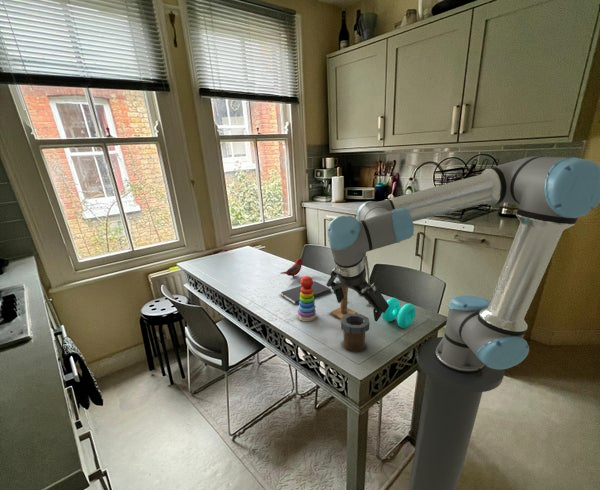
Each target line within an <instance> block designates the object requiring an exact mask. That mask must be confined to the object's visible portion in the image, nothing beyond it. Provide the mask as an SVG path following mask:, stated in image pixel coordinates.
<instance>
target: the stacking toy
mask: <svg viewBox="0 0 600 490" xmlns="http://www.w3.org/2000/svg"><path fill="white" fill-rule="evenodd" d="M313 282H314V280H313V278H312V277H311V276H308V275H305V276H302V277H301V279H300V286H302V288H301V293H300V301H299V303H298V309H297V319H299V320H300V321H303V322H311V321H314V320H315V319H316V318H317V311H316V304H315V303H316V301H315V298H314V296H313V292H312V291H313V288H312V287H311V286H312V285H313Z"/></svg>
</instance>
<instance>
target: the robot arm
mask: <svg viewBox="0 0 600 490" xmlns="http://www.w3.org/2000/svg"><path fill="white" fill-rule="evenodd" d="M483 204H485V205H488V206H495V205H498V204H518V208H517V211H516V213H515V216H516V217H517V219H518V220H519V226H518V228H517V231H516V233H515V236H514V239H513V241H512V244H511V246H510V249H509V252H508V254H507V257H506V259H505V262H504V265H503V267H502V269H501V271H500V274H499V278H498V280H497V282H496V286H495V288H494V291H493V293H492V296H491V298H490V300H489V299H487V298H485V297H482V296H478V295H470V294H469V295H466V294H465V295H464V294H463V295H457V296H454V297H453V298H451V300H450V302H449V306H448V312H447V318H446V323H445V329H444V333H443V334H444V335H443V336H442V337H443V338H442V340H441V341H440V343H439V344H438V346H437V348H436V352H435V357H436V359H437V360H438V362H439V363H440V364H442V365H443V366H444V367H446V368H448V369H450V370H453V371H456V372H460V373H477V372H480V374H483V373H482V371H481V370H482V369H483V368H484V365H486V366H487V367H489V368H492V369H498V370H501V369H505V370H507V369H510V368H513V367H515V366H518V365H519V364H520V363H522V362H523V361H524V360H525V359H526V358H527V356H528V355H529V352H530V345H529V344H528V342H527V340H526V339H525V338H524V336H525V334H526V333H527V330H528V328H529V327H528V323H527V322H526V320H525V317H526V315H527V313H528V310H529V309H530V306H531V304H532V301H533V300H534V297H535V294H536V293H537V291H538V288H539V286H540V285H541V281H542V279H543V277H544V274H545V273H546V271H547V268H548V266H549V264H550V261H551V259H552V257H553V255H554V252H555V250H556V247H557V245H558V243H559V242H560V239H561V237H562V234H563V232H564V231H565V230H566V229H569V228H571V227H573V226H575V225H576V223H577V221H578V218H581V217H583V216H586V215H587V214H590V213H591V210H594V209H595V208H597V206H598V205H599V204H600V165H599V164H598V163H597V162H595V161H593V160H591V159H590V160H589V159H585V158H578V157H576V156H573V157H567V156H566V157H563V156H543V155H540V156H539V155H535V156H527V157H524V158H519V159H516V160H513V161H509V162H505V163H502V164H499V165H496V166H492V167H488V168H485V169H484V170H482V172H481V174H477V175H473V176H470V177H466V178H462V179H459V180H455V181H452V182H448V183H444V184H441V185H437V186H433V187H429V188H425V189H421V190H418V191H414V192H410V193H407V194H403V195H400V196H395V197H392V198H388V199H384V200H380V201H376V200H375V201H373V200H369V201H364V203H361V204H360V206H359V207H358V209H357V212H356V217H355V216H352V215H339V216H337V217H335V218H334V219H332V220H331V221H330V222H329V224H328V226H327V229H326V230H327V237H328V244H329V247H330V252H331V254H332V258H333V262H334V268H332V270H331V271H330V277H329V279H328V281H327V282H326V284H325V286H326V287H328V288H331V290H332V291H333V293H334V295H335V297H336V302H337V303H339V304H341V301H342V299H343V298H344V294H343V290H342V287H345V286H347V287H348V289H351V290H352V291H355V292H356V293H357V294H358V295H359V296H360V297H363V298H364V299H365V300H366V301H367V302H369V303H370V306H371V307H372V308H373V309H372V312H373V320H374V322H378V321H379V320H380V318H381V317H382V313H385V312H386V310H387V309H388V307H389V305H388V303H387V300H386V299H385V297H384V296H383V295H382V293H381V291H380V290H379V286H378V284H377V283H375V282H373V283H372V284H371V283H370V284H368V280H367V269H366V263H365V260H364V255H363V253H364V252H366V253H367V252H370V251H374V250H377V249H381V248H384V247H387V246H392V245H394V244H399V243H401V242H404V241H406V240H409V239H411V238H412V237H413V236H414V232H415V228H414V227H415V225H414V222H417V221H421V220H424V219H428V218H433V217H437V216H441V215H443V214H447V213H452V212H455V211H460V210H464V209H467V208H471V207H476V206H480V205H483ZM336 278H338V280H336ZM335 280H336V281H335ZM361 290H362V292H361Z"/></svg>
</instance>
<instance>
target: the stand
mask: <svg viewBox="0 0 600 490" xmlns="http://www.w3.org/2000/svg"><path fill="white" fill-rule="evenodd" d="M349 324H351V325H361V323H359V322H350V323H349ZM366 332H367V331H366ZM366 332H364V333H363V334H362V333H361V334H351V333H350V334H349V333H347V332H345V331H344V330H343V348H344V349H345V350H346V351H349V352H353V353H356V352H361V351H363V350H364V349H365V347H366V334H367V333H366Z"/></svg>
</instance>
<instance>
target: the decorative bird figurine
mask: <svg viewBox="0 0 600 490" xmlns="http://www.w3.org/2000/svg"><path fill="white" fill-rule="evenodd" d="M303 263H304V262H303V259H302V258H301V257H300V258H298V259H297V260H296V261H295V263H294V264H293V265H292V266H290V267H289V268H287V270H286V271H283V272H280V274H281V275H287V276H290V277H292V279H295V278H298V277H299V275H298V274H299V273H300V271H301V269H302V266H303Z"/></svg>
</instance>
